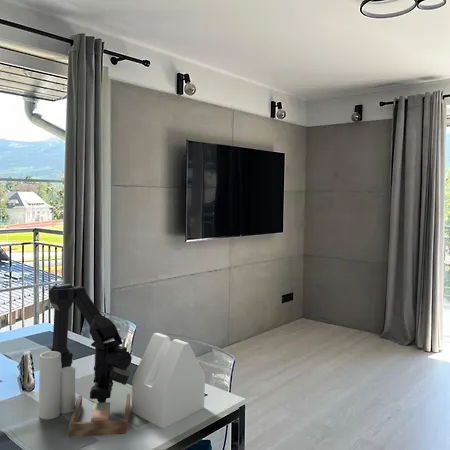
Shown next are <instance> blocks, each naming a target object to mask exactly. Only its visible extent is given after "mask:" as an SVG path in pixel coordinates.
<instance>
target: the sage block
mask: <svg viewBox="0 0 450 450" xmlns="http://www.w3.org/2000/svg"><path fill="white" fill-rule="evenodd" d="M93 410H109V420H110V418H111V402H110V401H108V402H107V401H106V402H104V403H99V402H94V404H93V407H92V412H93Z"/></svg>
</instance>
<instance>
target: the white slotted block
mask: <svg viewBox="0 0 450 450" xmlns="http://www.w3.org/2000/svg"><path fill="white" fill-rule="evenodd" d="M131 382H132V383H131V413H133V414H135V415H137V416H139V417H140V418H143V419H144V420H146V421H148V422H150V423H151V424H154V425H155V426H157V427H159V428H160V429H165V428H167V427H168V426H170V425H172V424H174V423H176V422H178V421H181V420H182V419H185V418H186V417H188V416H190V415H192V414H194V413H196V412H198V411H200V410H203V409H204V408H205V392H206V391H205V389H206V387H205V386H206V374H205V372H204V370H203V369H202V367H201V365H200V363H199V360H198V359H197V357H196V355H195V353H194V351H193V348H192V347H191V345H190V343H189V342H186V341H183V340H180V339H178V338H177V339H176V338H174V339H172V340H171V338H170V336H168V335H166V334H163V333H160V332H154V333H153V334H152V336H151V337H150V340H149V343H148V344H147V346H146V348H145V351H144V354H143V355H142V357H141V359H140V362H139V364H138V366H137V368H136V370H135V373H134V375H133V376H132V381H131Z"/></svg>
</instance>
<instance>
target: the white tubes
mask: <svg viewBox="0 0 450 450" xmlns="http://www.w3.org/2000/svg"><path fill="white" fill-rule="evenodd" d="M61 365H62V363H61V353H60V352H56V351H51V350H50V351H44V352H42V353H40V354H39V375H38V376H39V379H38V381H39V387H38V388H39V390H38V391H39V395H38V397H39V400H38V402H39V403H38V416H39V418H40V419H43V420H52V419H55V418H58V417H59V416H60V415H61V414H68V413H71V412H72V413H73V411H74V408H75V406H76V367H74V366H71V367H65V368H62V369H61Z"/></svg>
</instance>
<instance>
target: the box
mask: <svg viewBox="0 0 450 450" xmlns="http://www.w3.org/2000/svg"><path fill="white" fill-rule="evenodd" d="M130 405H131V393H127V394H126V401H125V409H124V417H123V418H124V419H116V420H109V421H92V422H91V421H79V418H80V414H81V411H82V409H83V395H79V396H78V398H77V401H76V402H75V408H74V410H73V411H72V415H71V418H70V420H69V423H68V438H76V437H77V438H79V437H80V438H81V436H83V437H98V436H99V437H101V436H116V435H118V436H119V435H120V436H121V435H128V428H129V427H128V425H129V416H130V410H131V409H130V407H131V406H130Z"/></svg>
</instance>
